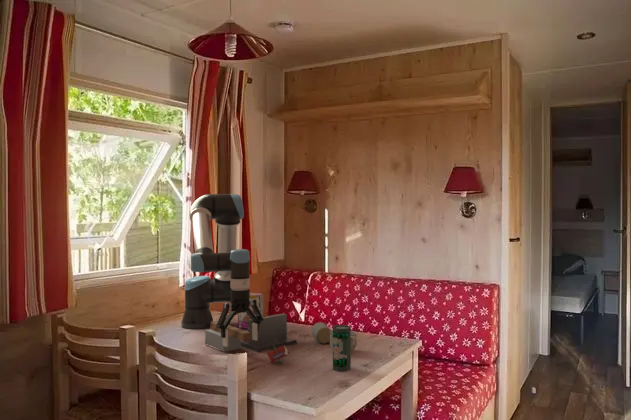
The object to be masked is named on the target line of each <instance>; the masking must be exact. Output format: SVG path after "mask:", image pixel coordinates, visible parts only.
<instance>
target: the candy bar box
mask: <svg viewBox="0 0 631 420" xmlns="http://www.w3.org/2000/svg"><path fill="white" fill-rule="evenodd" d="M251 299H255V300H256V302H257V306H258V309H259V311H260V313H261V315H262V317H264V294H263V293H255V292H254V293H253V292H250V298H249V300H251ZM249 308H250V309H251V311H252V313H253V314H254V315H255V313H254V311H253V309H252V306H251V305H249ZM255 316H256V315H255ZM248 319H251V318H250V317H249V315H248V314H247V313H246V312H244V313H243V312H241V313H237V328H239V329H242V330H248Z"/></svg>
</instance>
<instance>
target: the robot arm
mask: <svg viewBox="0 0 631 420" xmlns="http://www.w3.org/2000/svg"><path fill="white" fill-rule="evenodd" d="M244 218H245V209H244V204H243V199H242V197H241V195H240V194H238V193H237V194H235V193H206V194H203V195H201V196H200V197H198V198H197V199H196V200H195V201H194V202H193V203H192V204H191V207H190V209H189V221H190V222H191V223H192V233H193V245H194V253H191V255H190V270H191V272H193V273H211V272H212V273H213V272H216V273H215V274H214V277H213V278H210V276H209V275H199V276H194V277H190V278H188V279H186V280H185V282H184V312H183V315H182V319H181V321H180V323H181V324H180V325H181V326H180V327H182V328H183V329H191V330H192V329H194V330H195V329H206V328H210V322H214V317H213V315H212V311H211V309H210V305H211V304H215V303H216V304H217V303H220V304H221V303H223V308H222V311H221V312H220V315H219V318H218V320H217V321H218V323H217V325H216V327H217V328H219V329H221V337H222V338H223V346H226V347H227V346H228V329H226V328H227V327H228V325H230V323H231V322H232V320H233V319H234V317H235V316H236V315H238V313H241V312H243V313H244V312H246V313H247V314H248V315H249V317H250V318H251V319H252V320H253V322H254V323H252V339H253V340H258V331H259V324H260V323H261V321H263V318H262V315H261V313H260V311H259V309H258V306H257V302H256V300H255V299H251V300H249V298H250V293H251V290H250V285H251V284H250V283H251V282H250V281H251V279H250V275H251V274H250V273H251V271H250V270H251V269H250V264H251V263H250V261H251V256H250V251H249V250H248V249H245V248H240V249H239V248H238V249H237V237H238V236H237V235H238V231H237V230H238V226H239V224H241V220H243V219H244ZM211 220H215V224H216V225H217V226H218V230H217V231H218V233H217V234H218V235H217V237H218V238H217V239H218V240H217V241H218V242H217V252H214V246H213V237H212V229H211ZM249 305H251V306H252V309H253V311H254V313H255V315H256V316H255V315H254V314H253V313H252V311H251V309H250V308H249Z"/></svg>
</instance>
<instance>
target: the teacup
mask: <svg viewBox="0 0 631 420" xmlns="http://www.w3.org/2000/svg"><path fill="white" fill-rule="evenodd" d="M357 336H358V332H357V331H354V330H351V353H352V352H353V351H354V350H355V349H356V347H357V345H358V339H357ZM329 346H330V348H331V349H332V350H333V329H331V331H330V342H329Z"/></svg>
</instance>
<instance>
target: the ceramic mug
mask: <svg viewBox="0 0 631 420" xmlns="http://www.w3.org/2000/svg"><path fill="white" fill-rule="evenodd" d="M310 330H311V336H312V338H313V339H315V341H317V342H318V343H320V344H321V345H322V344H328V343H330V331H332V329H330V328H329V326H328V325H327V324H326V323H324V322H321V321H319V322H316V323H315V324H313V326H312V327H311V329H310Z"/></svg>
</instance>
